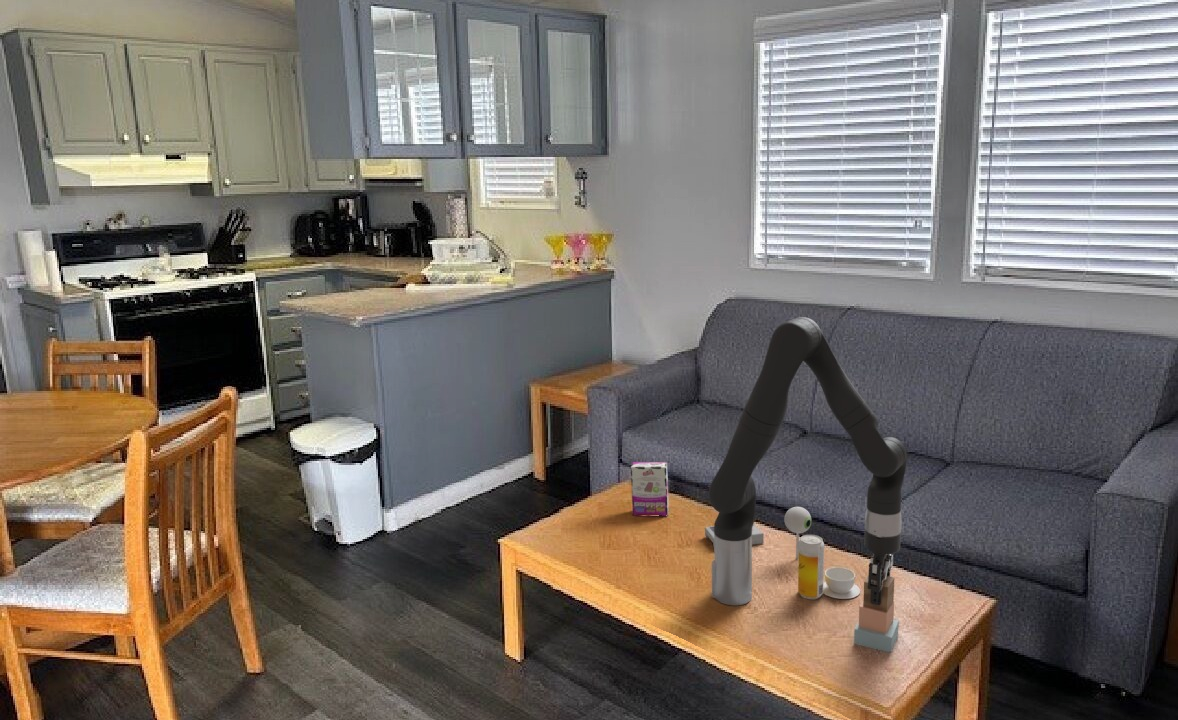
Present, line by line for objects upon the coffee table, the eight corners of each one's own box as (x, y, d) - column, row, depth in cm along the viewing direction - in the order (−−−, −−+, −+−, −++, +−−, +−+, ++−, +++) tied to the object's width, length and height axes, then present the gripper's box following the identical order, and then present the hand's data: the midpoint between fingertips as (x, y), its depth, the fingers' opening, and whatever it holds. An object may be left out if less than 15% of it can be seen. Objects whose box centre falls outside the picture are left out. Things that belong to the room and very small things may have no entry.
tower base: (854, 645, 186) (854, 629, 185) (862, 627, 193) (862, 612, 192) (891, 654, 182) (891, 637, 181) (898, 636, 189) (898, 620, 188)
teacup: (848, 604, 203) (849, 587, 201) (811, 592, 209) (812, 575, 208) (867, 589, 210) (867, 572, 208) (831, 577, 216) (831, 560, 215)
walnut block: (863, 606, 185) (864, 581, 184) (870, 596, 189) (870, 572, 188) (887, 612, 182) (888, 587, 181) (893, 601, 186) (894, 577, 185)
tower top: (858, 626, 186) (859, 606, 185) (866, 614, 191) (867, 594, 190) (885, 633, 183) (886, 613, 182) (893, 621, 188) (894, 601, 186)
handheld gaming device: (764, 545, 236) (764, 532, 236) (714, 551, 234) (714, 538, 233) (752, 532, 245) (752, 520, 244) (704, 538, 242) (704, 526, 242)
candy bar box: (669, 510, 262) (667, 461, 258) (667, 517, 257) (666, 467, 253) (633, 509, 264) (632, 461, 260) (632, 516, 259) (630, 466, 255)
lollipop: (800, 567, 222) (801, 515, 218) (778, 558, 227) (779, 507, 224) (815, 558, 226) (817, 507, 223) (794, 550, 232) (794, 500, 228)
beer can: (804, 586, 212) (805, 531, 209) (827, 592, 208) (828, 537, 205) (793, 595, 207) (794, 540, 204) (816, 603, 204) (817, 546, 200)
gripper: (872, 512, 189) (870, 577, 193) (857, 537, 177) (855, 605, 181) (907, 518, 185) (904, 584, 189) (893, 544, 174) (890, 614, 177)
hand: (880, 595), depth 185 cm, fingers open, 8 cm apart
